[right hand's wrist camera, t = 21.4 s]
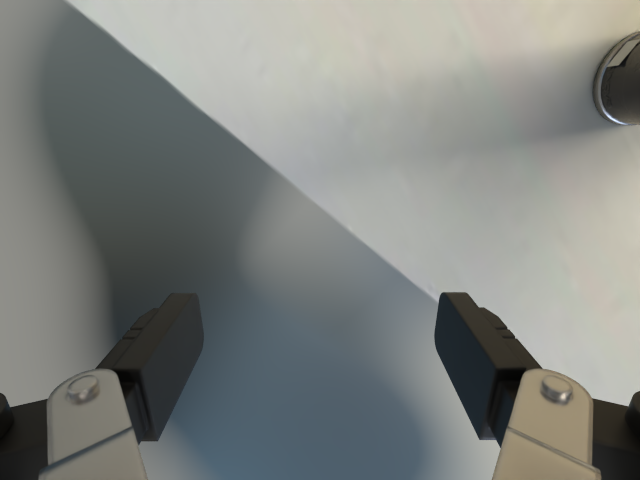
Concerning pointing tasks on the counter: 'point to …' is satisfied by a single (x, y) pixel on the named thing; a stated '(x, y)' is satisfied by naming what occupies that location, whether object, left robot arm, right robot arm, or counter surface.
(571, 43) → the counter surface
